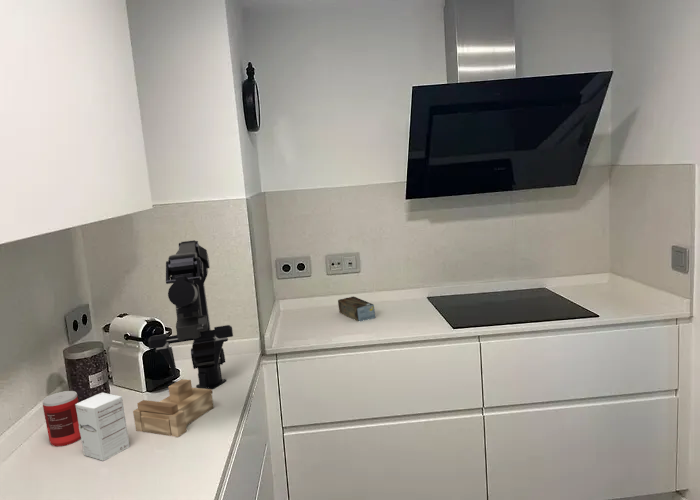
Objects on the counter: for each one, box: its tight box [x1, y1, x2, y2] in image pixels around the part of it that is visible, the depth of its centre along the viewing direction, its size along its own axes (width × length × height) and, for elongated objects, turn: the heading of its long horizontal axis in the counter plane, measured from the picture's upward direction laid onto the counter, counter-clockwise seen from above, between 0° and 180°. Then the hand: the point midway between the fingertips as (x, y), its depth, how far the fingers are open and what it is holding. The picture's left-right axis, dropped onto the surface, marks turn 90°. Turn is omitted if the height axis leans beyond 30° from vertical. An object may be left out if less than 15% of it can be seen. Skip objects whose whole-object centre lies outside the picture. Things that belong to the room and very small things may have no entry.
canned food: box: [42, 390, 81, 447], centre depth 136 cm, size 8×8×11 cm
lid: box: [141, 378, 213, 419], centre depth 141 cm, size 16×9×5 cm, turn 155°
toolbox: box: [132, 393, 215, 438], centre depth 141 cm, size 16×14×5 cm
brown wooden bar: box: [137, 399, 178, 415], centre depth 135 cm, size 2×11×2 cm, turn 65°
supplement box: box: [75, 392, 130, 462], centre depth 127 cm, size 7×7×13 cm
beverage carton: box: [337, 296, 376, 322], centre depth 227 cm, size 8×19×7 cm, turn 25°
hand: (196, 373), depth 129 cm, fingers open, 9 cm apart
